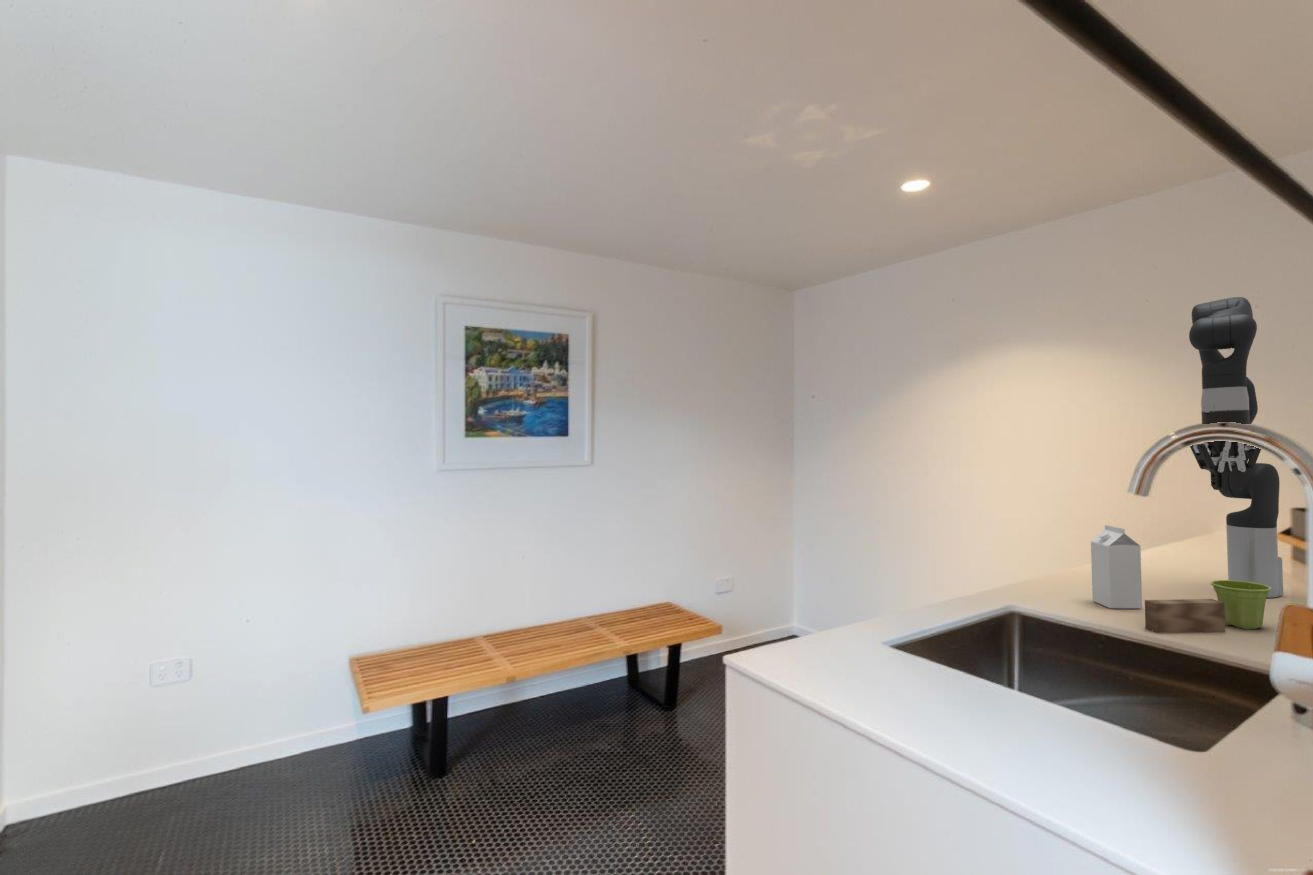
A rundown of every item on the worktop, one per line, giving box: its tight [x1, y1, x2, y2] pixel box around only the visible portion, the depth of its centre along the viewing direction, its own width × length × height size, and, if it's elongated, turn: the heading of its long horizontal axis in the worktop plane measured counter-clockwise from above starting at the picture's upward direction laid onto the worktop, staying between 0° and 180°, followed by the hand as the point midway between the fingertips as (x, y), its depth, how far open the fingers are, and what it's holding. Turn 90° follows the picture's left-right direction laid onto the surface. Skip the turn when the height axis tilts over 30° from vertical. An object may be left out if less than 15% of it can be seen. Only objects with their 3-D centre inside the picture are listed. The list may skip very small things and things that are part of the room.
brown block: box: [1144, 598, 1226, 633], centre depth 128 cm, size 14×3×6 cm, turn 89°
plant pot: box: [1210, 579, 1271, 630], centre depth 130 cm, size 9×9×9 cm
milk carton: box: [1090, 524, 1143, 609], centre depth 148 cm, size 7×7×19 cm
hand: (1227, 489), depth 131 cm, fingers open, 3 cm apart
